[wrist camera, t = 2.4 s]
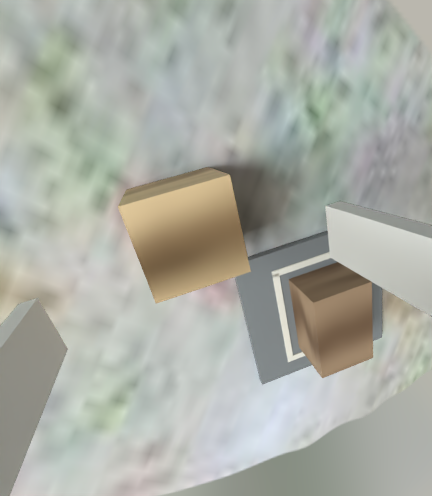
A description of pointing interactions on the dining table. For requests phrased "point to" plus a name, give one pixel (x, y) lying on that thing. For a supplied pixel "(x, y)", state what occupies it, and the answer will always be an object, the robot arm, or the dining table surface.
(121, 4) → the dining table surface
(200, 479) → the dining table surface
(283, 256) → the mat
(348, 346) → the base block
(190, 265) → the oak block
